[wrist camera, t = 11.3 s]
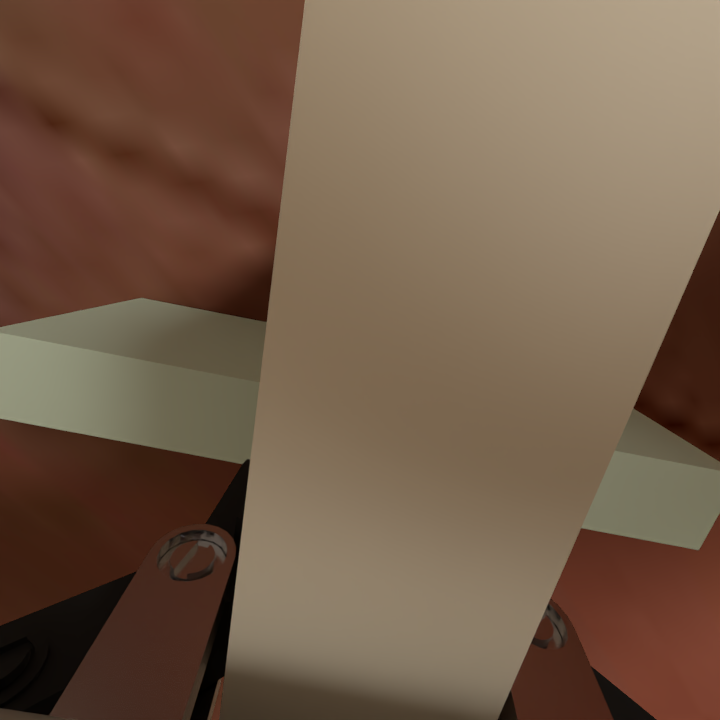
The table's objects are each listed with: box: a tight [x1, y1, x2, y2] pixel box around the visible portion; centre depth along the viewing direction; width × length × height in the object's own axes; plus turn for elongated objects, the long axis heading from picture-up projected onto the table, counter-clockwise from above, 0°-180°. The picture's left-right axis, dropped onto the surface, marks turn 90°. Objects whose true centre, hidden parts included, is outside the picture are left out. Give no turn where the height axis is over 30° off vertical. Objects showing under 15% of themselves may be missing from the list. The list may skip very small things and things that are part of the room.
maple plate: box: [219, 0, 720, 720], centre depth 12 cm, size 16×3×15 cm, turn 169°
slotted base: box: [0, 298, 720, 550], centre depth 16 cm, size 24×3×8 cm, turn 79°
